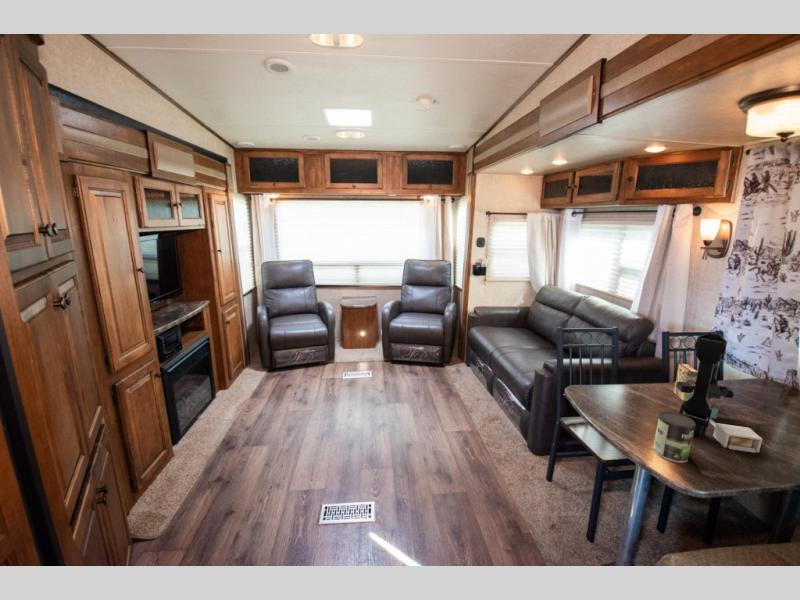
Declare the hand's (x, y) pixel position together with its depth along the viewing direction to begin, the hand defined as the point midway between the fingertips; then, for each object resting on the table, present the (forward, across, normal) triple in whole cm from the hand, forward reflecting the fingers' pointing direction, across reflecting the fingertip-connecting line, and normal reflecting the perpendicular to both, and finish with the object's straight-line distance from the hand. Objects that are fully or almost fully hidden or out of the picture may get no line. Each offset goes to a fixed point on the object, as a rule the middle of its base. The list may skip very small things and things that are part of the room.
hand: (700, 407), depth 150 cm
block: (+2, 0, -24) cm, 25 cm away
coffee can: (+3, -25, -36) cm, 44 cm away
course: (+3, 0, -24) cm, 25 cm away
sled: (+2, 0, -17) cm, 17 cm away
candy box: (+3, 0, +15) cm, 15 cm away
